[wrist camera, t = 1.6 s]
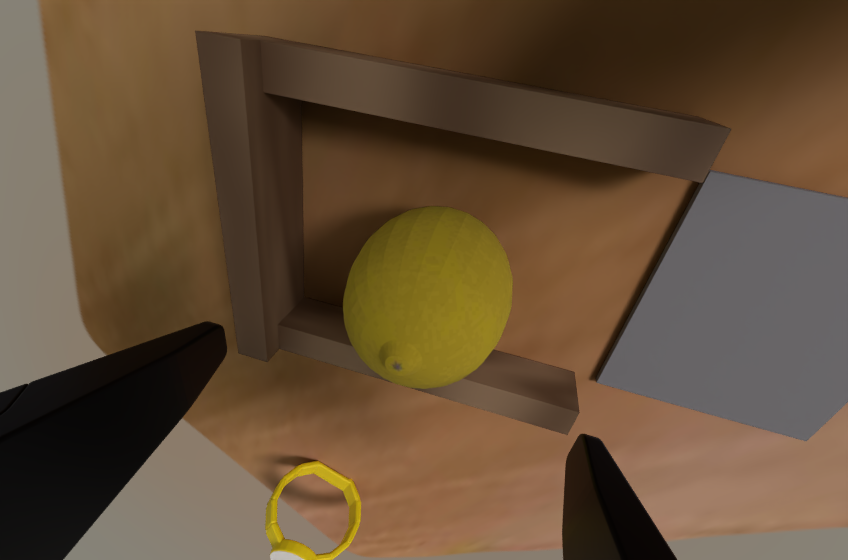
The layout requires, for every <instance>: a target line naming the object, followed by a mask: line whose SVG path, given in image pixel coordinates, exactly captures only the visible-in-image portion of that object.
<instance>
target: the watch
mask: <svg viewBox="0 0 848 560" xmlns="http://www.w3.org/2000/svg"><path fill="white" fill-rule="evenodd" d="M312 473H314V474H316V475H317V476H319V477H321V478H322V479H324V480H326V481H327V482H329V483H331V484H332V485H334V486H336V487H337V488H339V489H341V490H342V491H343V492H344V495H345V498H346V500H347V503H348V505H349V507H350V508H349V528H348V530H347V532H346V534H345V536H344V538H343V540H342V542H341V544H340V545H339V546H338V547H337V548H335V549H334V550H333V551H332V552H330V553H324V554H315V553H314V552H313V551H312V550H311V549H310V548H309V547H307V546H305V545H304V544H302V543H299V542H297V541H293V540H289V539H285V538H284V536H283V534H282V532H281V530H280V528H279V525H278V523H277V500H278V498H279V496H280V494H281V492H282V490H283V488H284V486H285V485H287V484H288V483H289V482H290V481H292V480H293V479H294V478H295V477H297V476H302V475H307V474H312ZM360 521H361V501H360V496H359V494H358V491H357V489H356V486H355V484H354V481H352V479H349V478H347V477H345V476H343V475H342V474H339V473H338V472H336V471H334V470H333V469H331V468H329V467H328V466H326V465H324V464H323V463H321V462H319V461H313V462H308V463H302V464H301V465H298V466H296V467H295V468H294V469H292V470H291V471H290V472H289V473H287V474H286V475H285V476H284V477H283V478H282V479H281V480H280V482H279V483H278V485H277V486H276V488H275V490H274V492H273V494H272V496H271V498H270V500H269V502H268V504H267V508H266V526H265V529H266V530H267V531H266V534H267V536H268V538H269V541H270V543H271V545H272V547H273V548H272V550H271V553H270V558H271V560H332V559H334V558H335V557H336V556H338V555H339V554H340V553H341V552H342V551H344V550H345V549H346V548H347V547H348V546H349V544H350V543H351V542H352V540H353V538H354V536H355V534H356V532H357V529H358V527H359V525H360V524H359V522H360Z"/></svg>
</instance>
